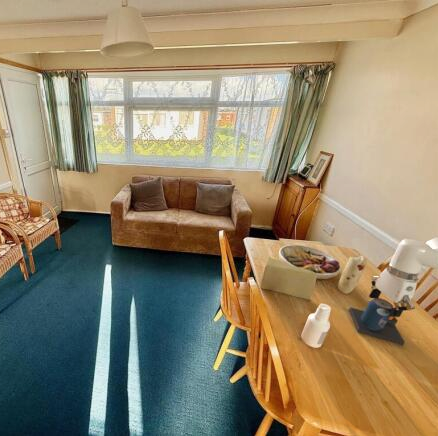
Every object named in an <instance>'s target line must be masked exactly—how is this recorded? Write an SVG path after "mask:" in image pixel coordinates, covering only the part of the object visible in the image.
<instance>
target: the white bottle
mask: <svg viewBox="0 0 438 436" xmlns="http://www.w3.org/2000/svg"><path fill="white" fill-rule="evenodd" d="M331 312H332V308H331V306H330V305H328V304H326V303H319V306H318V307H317V308H316V310H315V312H314V313H310V314H309V315H308V317H307V319H306V321H305V325H304V326H303V329H302V331H301V335H300V337H301V340H302V342H303V343H304V344H306V345H307V346H309V347H311V348H315V349H316V348H317V349H318V348H321V346H322V345H323V343H324V340H325V339H326V337H327V334H328V332H329V330H330V328H331V322H330V321H329V317H330V315H331Z"/></svg>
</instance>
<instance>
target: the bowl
mask: <svg viewBox="0 0 438 436" xmlns="http://www.w3.org/2000/svg"><path fill="white" fill-rule="evenodd" d="M278 257H279V261H281V262H284V263H286V264H290V265H293V266H296V267H299V268H303V269H306V270H310V271H313V272H315V273H316V274H317V278H316V280H327V279H331V278H335V277H336V276H337V275H338V274H339V273H340V271H341V265H340V262H339V261H337V259H336V258H334V257H333V256H331V255H330V254H328V253H326V252H324V251H322V250H319V249H317V248H315V247H310V246H306V245H301V244H288V245H284V246H282V247H281V248H280V249H279V252H278Z"/></svg>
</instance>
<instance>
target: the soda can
mask: <svg viewBox="0 0 438 436" xmlns="http://www.w3.org/2000/svg"><path fill="white" fill-rule="evenodd" d="M393 305H394V304H392V303H391V302H390V301H388V300H386V299H384V298H381V297H379V298H372V299H371V300H369V302H368V303H367V306H366V307H365V309H364V310H363V311H364V313H363V315H362V316H361V320H362V323H363V324H364V325H365V326H367V327H368V328H370V329H373V330H380V329H383V327H384V326H385V324H386V323H387V321H388V319H389V318H390V316H389V314H390V312H391V310H392V308H394V306H393Z"/></svg>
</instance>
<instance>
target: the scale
mask: <svg viewBox="0 0 438 436" xmlns="http://www.w3.org/2000/svg"><path fill="white" fill-rule="evenodd" d="M364 311H365V310H363V309H359V308H355V307H351V306H350V307H349V308H348V312H349V315H350V317H351V320H352V322H353V325H354V328H355V330H356V332H357V333H359V334H361V335H365V336H368V337H372V338H375V339H379V340H382V341H385V342H389V343H392V344H395V345H399V346H404V345H405V344H406V342H405V340H404V338H403V337H402V335H401V334H400V331H399V330H398V328H397V326H396V324H397V323H398V318H397V317H394V318H393V319H392V320H388V321H387V323H386V324H385V326H384V327H383V329H380V330H373V329H370V328H368V327H367V326H365V325H364V324H363V323H362V320H361V316H362V315H363V313H364Z"/></svg>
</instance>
